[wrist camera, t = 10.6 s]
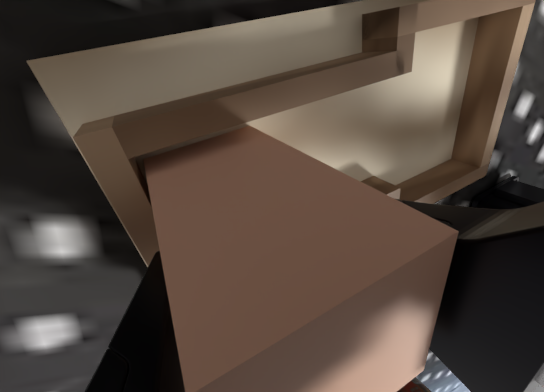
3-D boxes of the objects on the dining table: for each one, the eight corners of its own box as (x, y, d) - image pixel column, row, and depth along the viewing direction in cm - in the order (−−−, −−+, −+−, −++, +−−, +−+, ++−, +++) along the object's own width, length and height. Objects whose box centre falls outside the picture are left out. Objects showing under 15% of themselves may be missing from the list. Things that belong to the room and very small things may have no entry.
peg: (268, 209, 14) (423, 370, 7) (183, 246, 12) (262, 498, 5) (249, 125, 11) (458, 231, 4) (143, 159, 10) (186, 397, 3)
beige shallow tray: (446, 169, 21) (484, 181, 19) (172, 302, 14) (181, 346, 12) (482, -21, 15) (545, -35, 13) (33, 60, 8) (-1, 60, 6)
